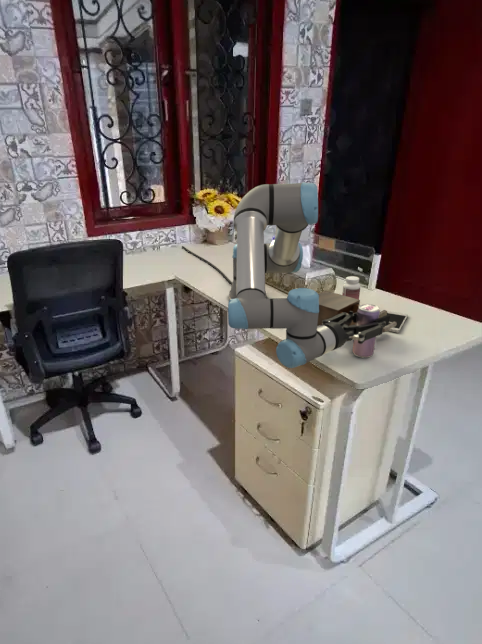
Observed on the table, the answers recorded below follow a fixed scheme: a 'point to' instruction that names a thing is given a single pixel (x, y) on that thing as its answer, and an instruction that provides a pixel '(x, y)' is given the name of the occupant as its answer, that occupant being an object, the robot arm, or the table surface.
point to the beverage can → (364, 316)
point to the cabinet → (333, 305)
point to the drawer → (382, 313)
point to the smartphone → (396, 320)
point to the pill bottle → (351, 287)
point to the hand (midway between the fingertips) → (377, 315)
